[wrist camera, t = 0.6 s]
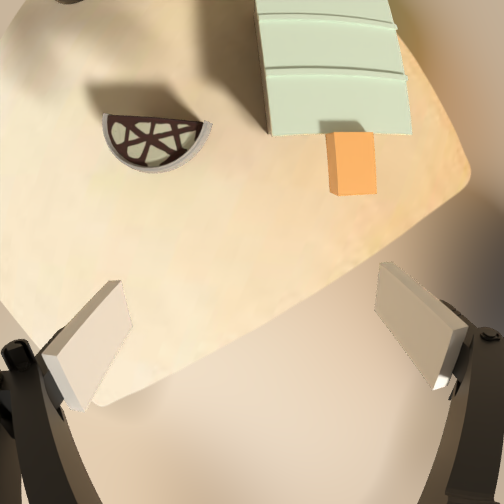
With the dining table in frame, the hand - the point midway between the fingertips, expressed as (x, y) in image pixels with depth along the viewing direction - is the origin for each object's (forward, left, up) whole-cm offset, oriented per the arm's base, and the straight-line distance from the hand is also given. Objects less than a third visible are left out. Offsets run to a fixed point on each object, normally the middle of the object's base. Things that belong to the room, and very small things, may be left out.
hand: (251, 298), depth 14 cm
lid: (-15, +11, -17) cm, 25 cm away
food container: (-9, -9, -27) cm, 30 cm away
